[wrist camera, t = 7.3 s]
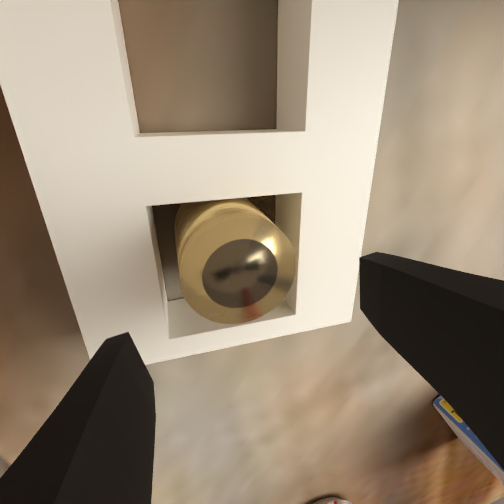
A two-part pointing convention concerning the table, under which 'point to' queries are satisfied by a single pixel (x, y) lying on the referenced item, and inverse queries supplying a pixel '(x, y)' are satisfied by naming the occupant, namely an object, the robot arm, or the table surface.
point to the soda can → (332, 501)
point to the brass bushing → (232, 260)
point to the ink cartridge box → (468, 437)
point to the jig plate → (195, 165)
